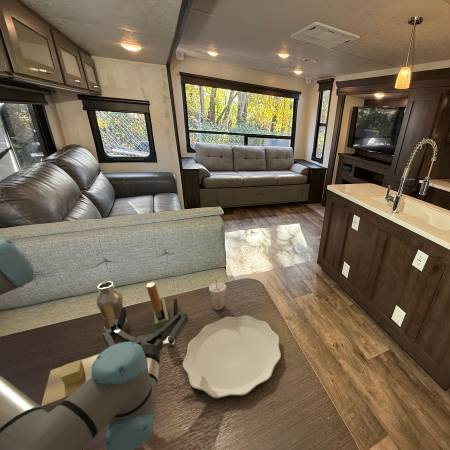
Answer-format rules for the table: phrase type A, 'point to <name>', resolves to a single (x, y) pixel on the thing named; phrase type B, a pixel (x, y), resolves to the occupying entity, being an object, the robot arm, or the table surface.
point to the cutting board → (56, 385)
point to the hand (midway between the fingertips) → (151, 306)
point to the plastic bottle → (110, 305)
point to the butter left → (72, 372)
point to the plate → (232, 356)
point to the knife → (155, 299)
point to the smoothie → (218, 294)
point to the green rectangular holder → (161, 323)
